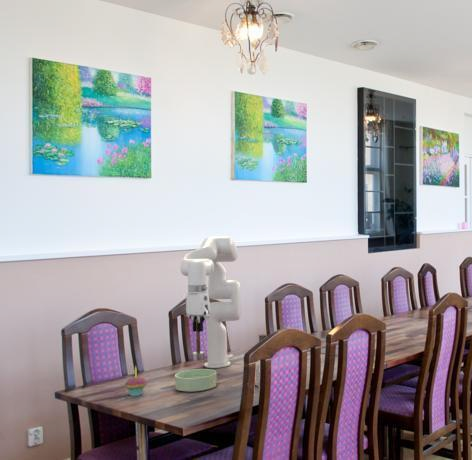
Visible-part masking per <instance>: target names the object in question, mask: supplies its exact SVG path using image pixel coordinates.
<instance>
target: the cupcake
mask: <svg viewBox="0 0 472 460" xmlns="http://www.w3.org/2000/svg"><path fill="white" fill-rule="evenodd" d="M137 368H138V367H137V365H136V364H135V367H134V377H130V378H129V379H127V381H126V382H124V387H125V388H126V389H127V391H128V394H129V396H130V397H138V396H141V395H143V392H144V389H145V387H146V386H148V381H147V379H145V378H143V377H139V376H138V369H137Z"/></svg>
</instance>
